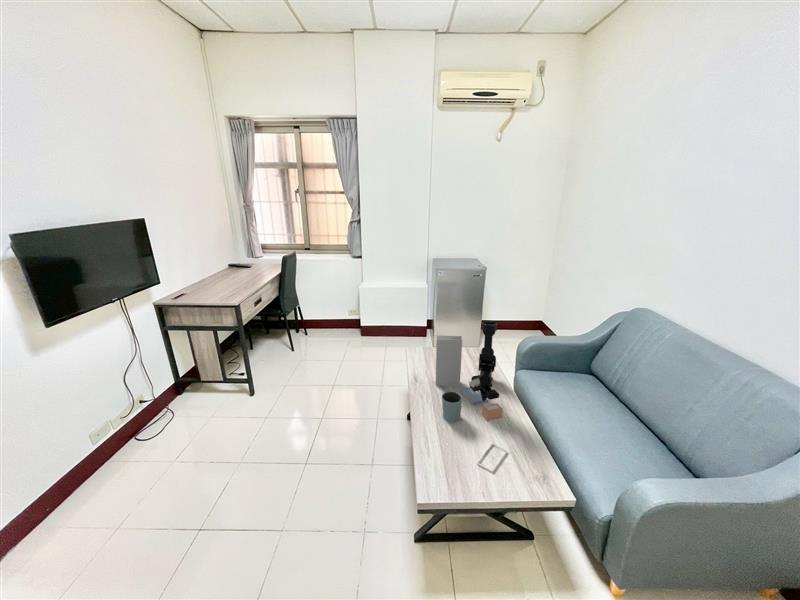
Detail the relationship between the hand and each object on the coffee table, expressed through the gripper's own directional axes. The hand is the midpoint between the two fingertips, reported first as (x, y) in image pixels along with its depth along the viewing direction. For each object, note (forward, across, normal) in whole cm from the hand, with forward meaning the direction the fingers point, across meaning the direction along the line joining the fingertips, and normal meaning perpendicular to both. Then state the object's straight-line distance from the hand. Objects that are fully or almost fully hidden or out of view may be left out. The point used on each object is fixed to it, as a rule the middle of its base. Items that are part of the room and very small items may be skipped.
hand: (483, 400), depth 175 cm
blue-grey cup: (+4, +3, -20) cm, 21 cm away
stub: (+4, +8, 0) cm, 9 cm away
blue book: (+4, -10, 0) cm, 11 cm away
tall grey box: (+4, -26, -9) cm, 28 cm away
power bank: (+4, +33, -14) cm, 36 cm away
